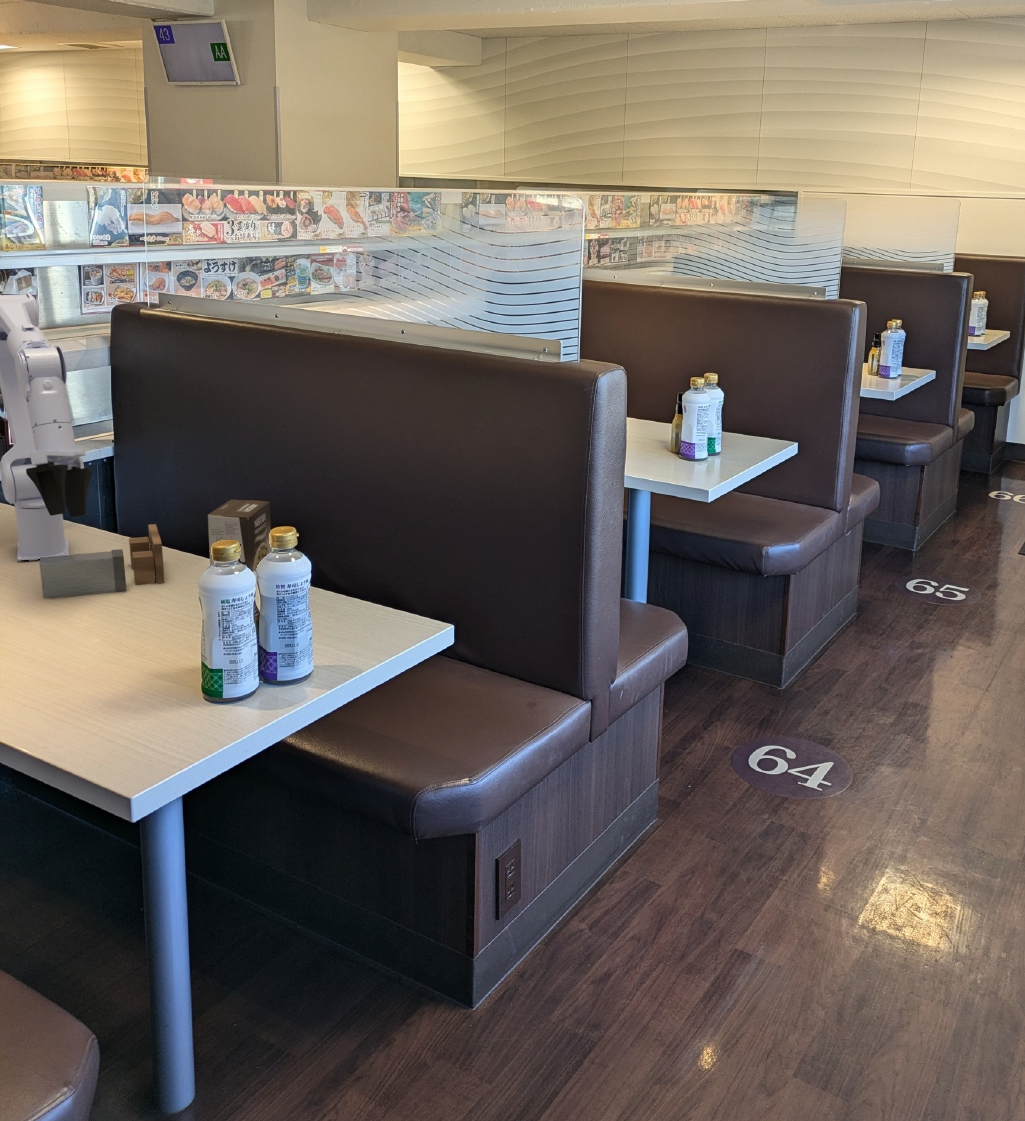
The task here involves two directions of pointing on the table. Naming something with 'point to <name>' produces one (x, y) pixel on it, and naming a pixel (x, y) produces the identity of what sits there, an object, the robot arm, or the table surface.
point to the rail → (83, 574)
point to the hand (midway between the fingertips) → (68, 515)
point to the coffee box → (242, 528)
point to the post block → (147, 557)
